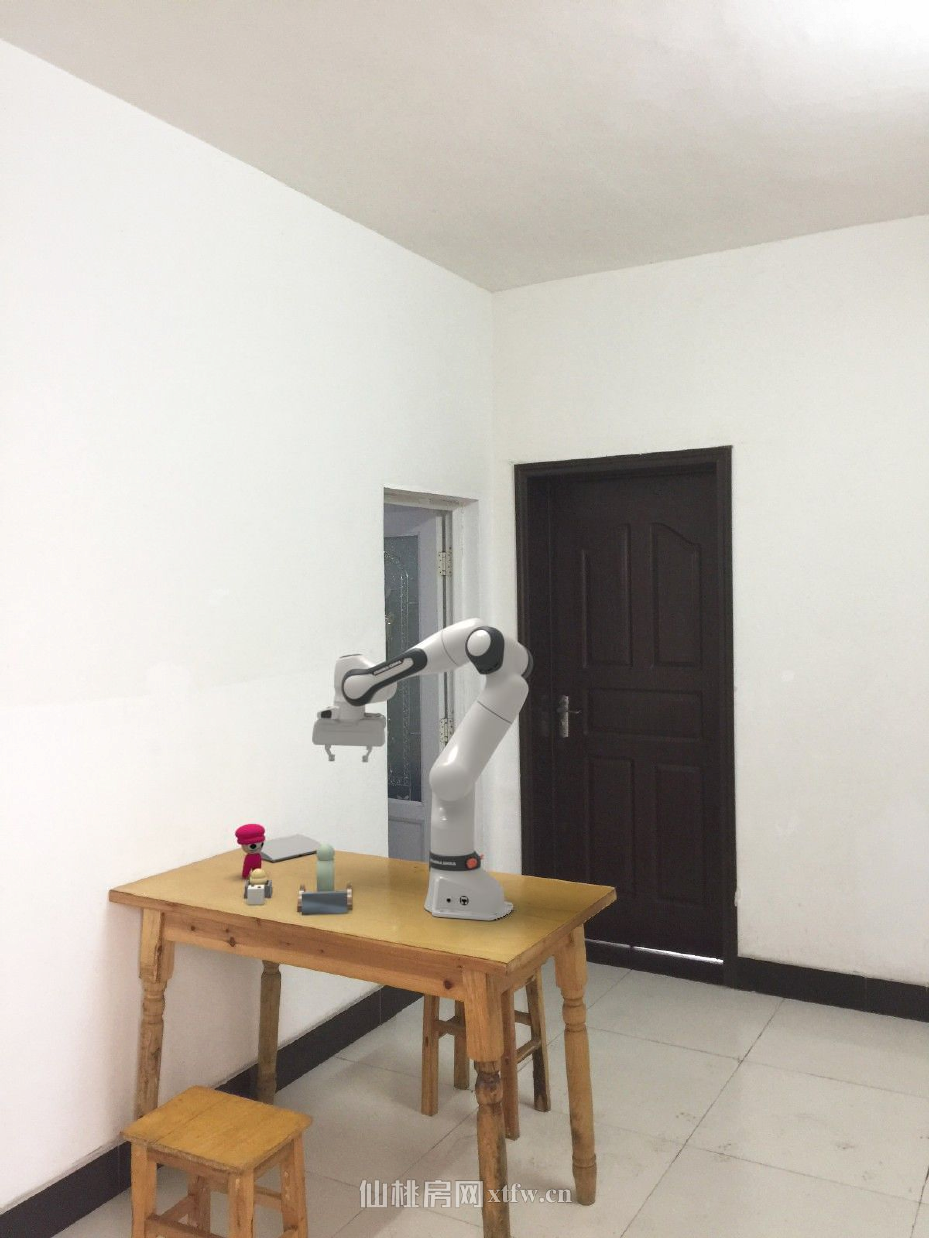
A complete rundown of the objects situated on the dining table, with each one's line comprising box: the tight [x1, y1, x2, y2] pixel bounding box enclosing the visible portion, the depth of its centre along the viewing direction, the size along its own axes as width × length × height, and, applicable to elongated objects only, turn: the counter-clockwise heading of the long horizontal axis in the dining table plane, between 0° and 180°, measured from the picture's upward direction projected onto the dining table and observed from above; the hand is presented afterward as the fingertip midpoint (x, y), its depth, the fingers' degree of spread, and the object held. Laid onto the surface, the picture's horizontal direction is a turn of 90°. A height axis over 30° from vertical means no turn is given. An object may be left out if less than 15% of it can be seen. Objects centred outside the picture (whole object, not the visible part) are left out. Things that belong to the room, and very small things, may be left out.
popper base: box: [243, 879, 274, 900], centre depth 278 cm, size 7×7×3 cm
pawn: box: [315, 843, 336, 892], centre depth 279 cm, size 5×5×13 cm
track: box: [296, 882, 353, 915], centre depth 272 cm, size 24×14×5 cm, turn 7°
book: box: [258, 833, 323, 863], centre depth 324 cm, size 15×23×4 cm, turn 138°
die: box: [247, 884, 266, 906], centre depth 270 cm, size 4×4×4 cm
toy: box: [234, 823, 266, 879], centre depth 295 cm, size 8×8×15 cm
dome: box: [249, 868, 268, 885], centre depth 278 cm, size 4×4×4 cm
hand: (348, 761), depth 293 cm, fingers open, 8 cm apart
